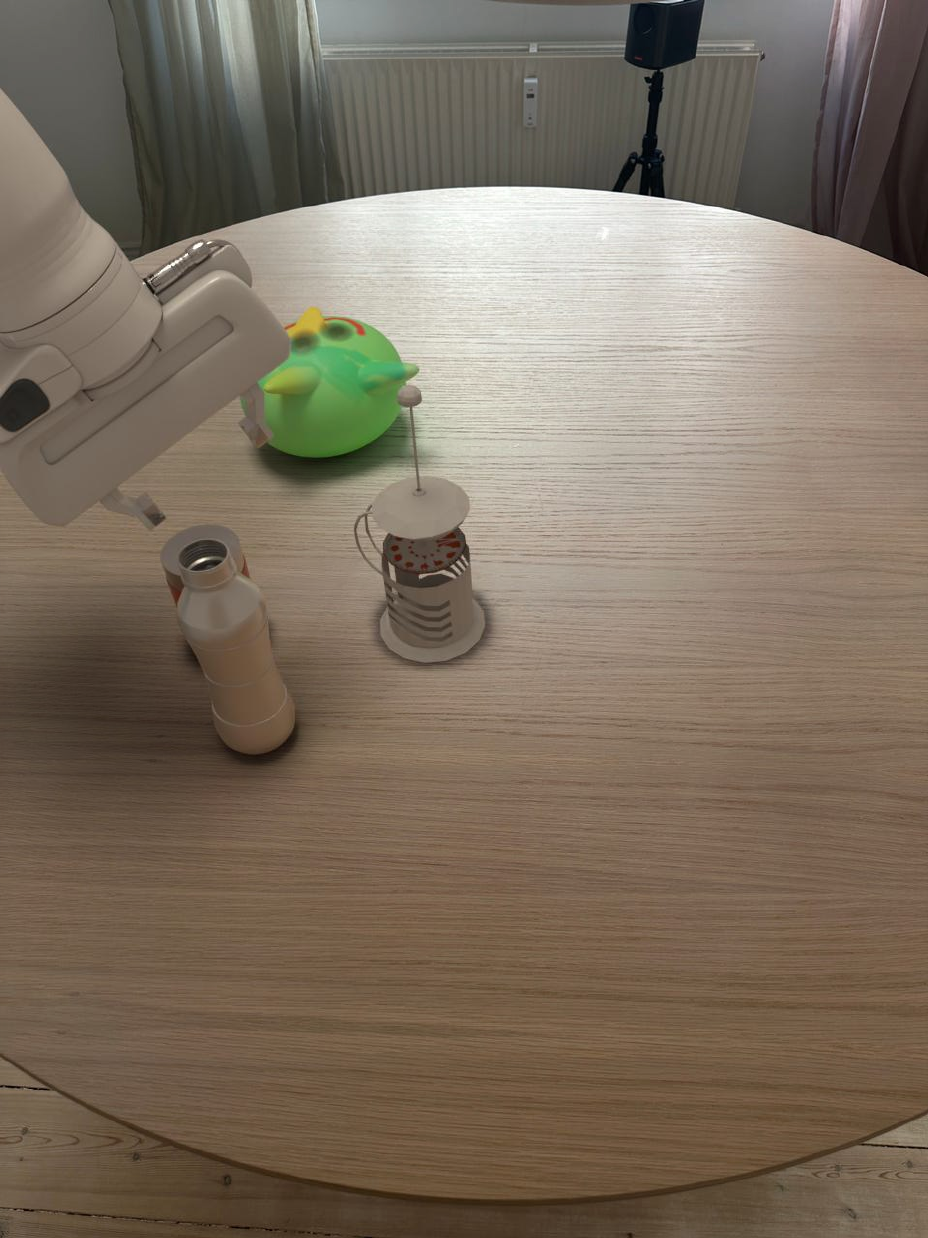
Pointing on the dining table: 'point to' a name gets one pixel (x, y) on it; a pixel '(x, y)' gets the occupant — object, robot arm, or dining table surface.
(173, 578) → the food can
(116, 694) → the dining table surface
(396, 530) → the french press
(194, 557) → the plastic bottle
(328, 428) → the toy bird
